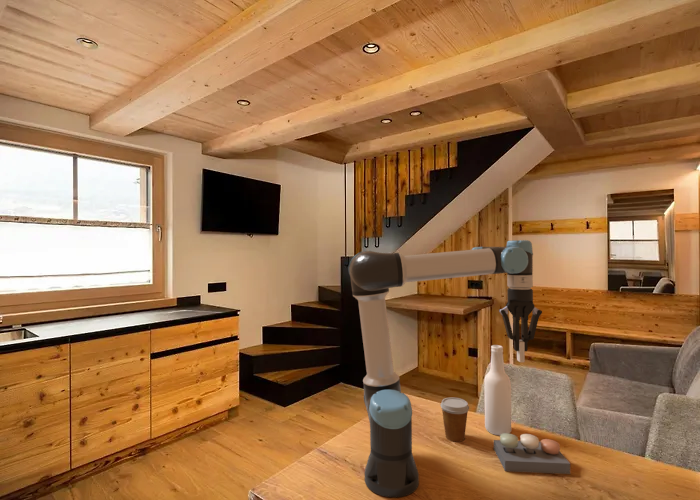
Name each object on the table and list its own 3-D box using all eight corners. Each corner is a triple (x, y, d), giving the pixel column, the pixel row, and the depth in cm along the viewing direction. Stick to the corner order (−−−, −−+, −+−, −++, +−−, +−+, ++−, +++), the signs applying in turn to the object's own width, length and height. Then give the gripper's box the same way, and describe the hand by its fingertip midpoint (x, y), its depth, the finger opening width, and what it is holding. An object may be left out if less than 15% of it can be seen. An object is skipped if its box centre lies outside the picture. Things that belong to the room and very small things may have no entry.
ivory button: (524, 458, 112) (523, 441, 112) (518, 449, 117) (518, 433, 117) (541, 459, 112) (541, 442, 112) (535, 450, 117) (534, 434, 117)
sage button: (503, 457, 113) (503, 441, 113) (498, 448, 118) (498, 432, 118) (520, 458, 112) (520, 441, 112) (514, 449, 117) (514, 433, 117)
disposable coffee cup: (471, 445, 124) (470, 409, 124) (441, 442, 126) (440, 407, 126) (467, 431, 133) (467, 397, 133) (440, 429, 135) (439, 396, 135)
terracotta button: (545, 464, 112) (544, 447, 112) (538, 454, 117) (538, 438, 117) (562, 464, 111) (562, 447, 111) (555, 455, 116) (555, 439, 116)
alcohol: (514, 428, 135) (513, 345, 135) (508, 439, 128) (507, 350, 128) (488, 422, 140) (487, 341, 140) (481, 431, 133) (480, 347, 133)
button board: (505, 471, 109) (505, 460, 109) (493, 449, 121) (493, 439, 121) (570, 474, 108) (570, 463, 108) (552, 451, 120) (552, 442, 120)
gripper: (502, 289, 118) (503, 364, 118) (545, 289, 117) (546, 365, 117) (495, 286, 126) (496, 357, 126) (536, 286, 124) (537, 358, 124)
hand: (520, 361), depth 121 cm, fingers closed
